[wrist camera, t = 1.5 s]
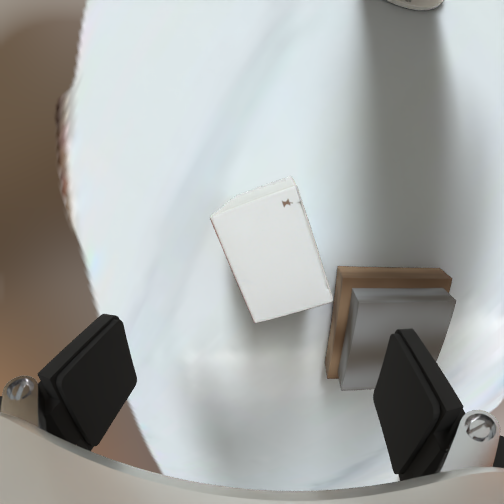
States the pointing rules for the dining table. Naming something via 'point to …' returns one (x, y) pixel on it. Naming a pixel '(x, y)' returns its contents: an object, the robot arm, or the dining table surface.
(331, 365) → the tower base
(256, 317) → the small box
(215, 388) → the dining table surface
